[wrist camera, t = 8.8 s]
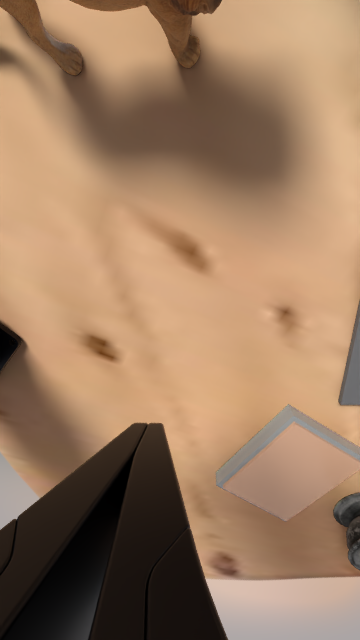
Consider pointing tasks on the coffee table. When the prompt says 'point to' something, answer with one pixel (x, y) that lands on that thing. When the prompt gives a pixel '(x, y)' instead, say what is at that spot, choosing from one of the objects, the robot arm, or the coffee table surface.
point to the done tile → (289, 464)
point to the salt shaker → (350, 525)
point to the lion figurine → (164, 3)
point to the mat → (352, 369)
